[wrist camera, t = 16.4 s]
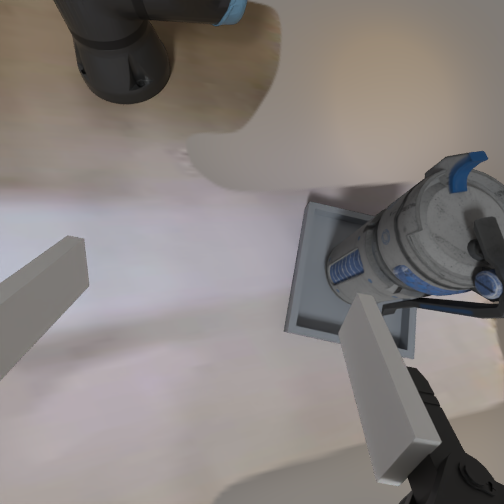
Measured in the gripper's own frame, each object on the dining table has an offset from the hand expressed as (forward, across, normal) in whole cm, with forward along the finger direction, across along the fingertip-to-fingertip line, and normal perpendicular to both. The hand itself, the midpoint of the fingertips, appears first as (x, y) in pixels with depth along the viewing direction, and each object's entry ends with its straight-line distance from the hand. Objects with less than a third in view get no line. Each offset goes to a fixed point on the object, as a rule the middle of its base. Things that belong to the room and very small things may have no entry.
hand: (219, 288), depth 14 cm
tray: (+27, +18, -14) cm, 36 cm away
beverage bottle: (+27, +19, -14) cm, 35 cm away
